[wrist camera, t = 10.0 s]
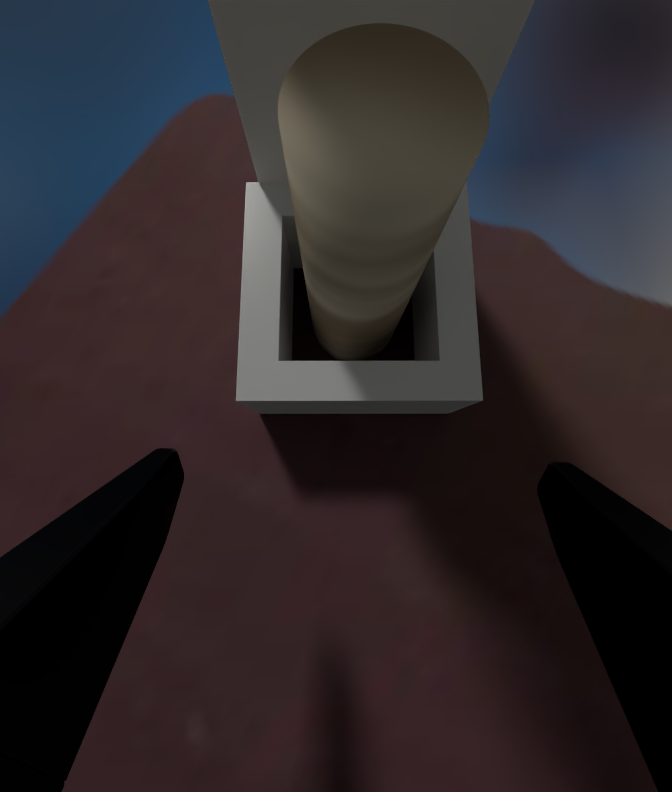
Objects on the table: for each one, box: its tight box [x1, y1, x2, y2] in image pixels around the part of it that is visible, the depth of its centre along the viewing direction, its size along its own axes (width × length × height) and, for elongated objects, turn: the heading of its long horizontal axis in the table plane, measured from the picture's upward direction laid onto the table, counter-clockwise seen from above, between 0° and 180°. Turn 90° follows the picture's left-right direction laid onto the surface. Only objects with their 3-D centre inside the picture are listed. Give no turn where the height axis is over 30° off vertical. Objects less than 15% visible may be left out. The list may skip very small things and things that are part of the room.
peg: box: [278, 23, 490, 361], centre depth 12 cm, size 4×4×11 cm
